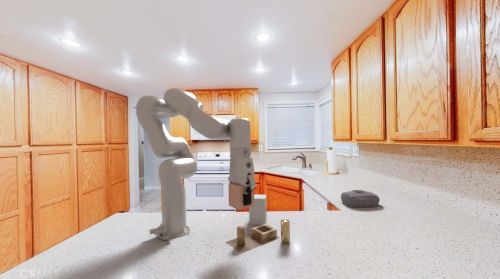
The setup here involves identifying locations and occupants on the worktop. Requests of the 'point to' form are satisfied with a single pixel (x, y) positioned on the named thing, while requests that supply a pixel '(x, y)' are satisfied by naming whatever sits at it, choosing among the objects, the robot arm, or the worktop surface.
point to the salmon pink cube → (238, 196)
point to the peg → (285, 231)
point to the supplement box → (258, 210)
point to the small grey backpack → (359, 199)
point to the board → (253, 237)
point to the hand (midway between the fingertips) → (241, 202)
